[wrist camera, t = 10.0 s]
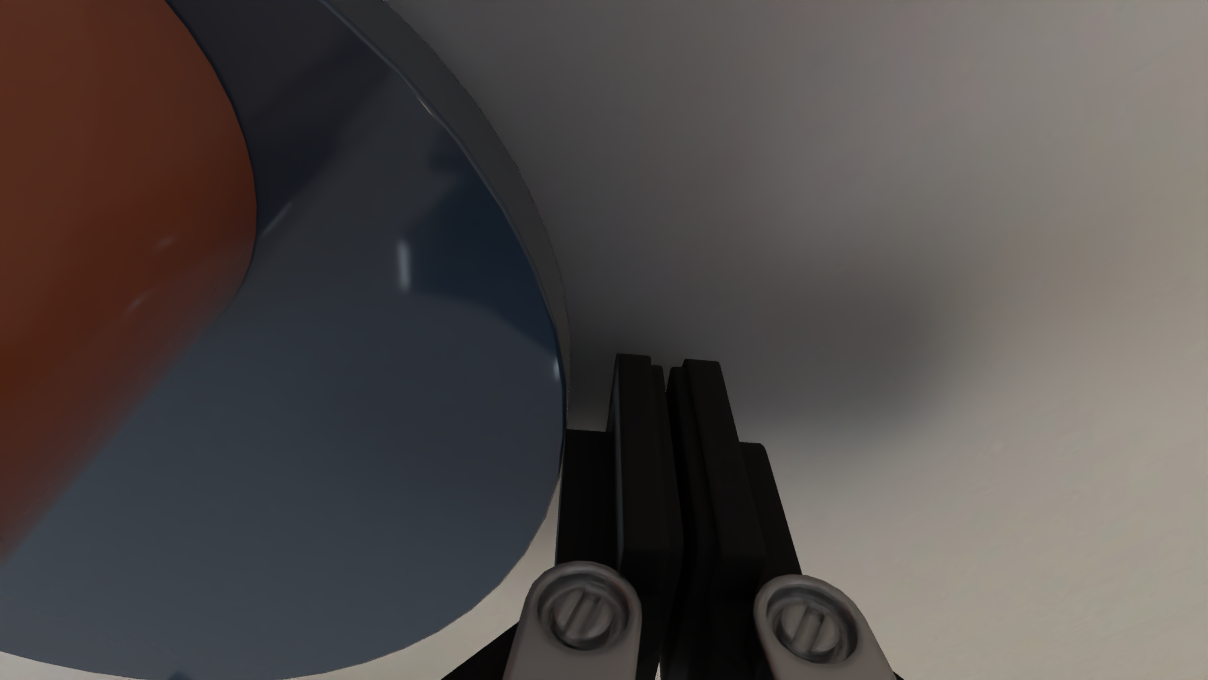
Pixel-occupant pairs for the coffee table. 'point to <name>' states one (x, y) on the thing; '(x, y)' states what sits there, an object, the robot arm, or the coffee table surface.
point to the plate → (324, 385)
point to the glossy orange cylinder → (105, 230)
